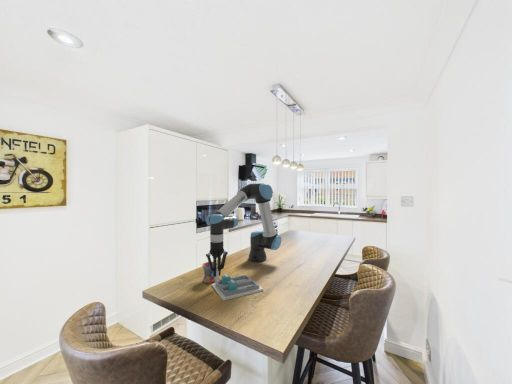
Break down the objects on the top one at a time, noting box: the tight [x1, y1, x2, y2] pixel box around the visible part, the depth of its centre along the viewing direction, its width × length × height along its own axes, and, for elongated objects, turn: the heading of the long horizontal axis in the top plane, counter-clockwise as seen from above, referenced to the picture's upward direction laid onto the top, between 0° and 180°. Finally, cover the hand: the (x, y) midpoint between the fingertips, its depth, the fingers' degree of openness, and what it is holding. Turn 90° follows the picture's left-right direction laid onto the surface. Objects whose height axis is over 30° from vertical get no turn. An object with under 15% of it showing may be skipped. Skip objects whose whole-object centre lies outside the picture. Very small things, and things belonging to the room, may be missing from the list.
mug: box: [201, 261, 218, 284], centre depth 136 cm, size 12×9×11 cm
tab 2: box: [228, 280, 237, 291], centre depth 119 cm, size 4×4×6 cm
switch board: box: [211, 274, 264, 302], centre depth 125 cm, size 24×20×3 cm
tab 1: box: [221, 273, 232, 285], centre depth 127 cm, size 4×4×6 cm
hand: (217, 281), depth 124 cm, fingers closed
